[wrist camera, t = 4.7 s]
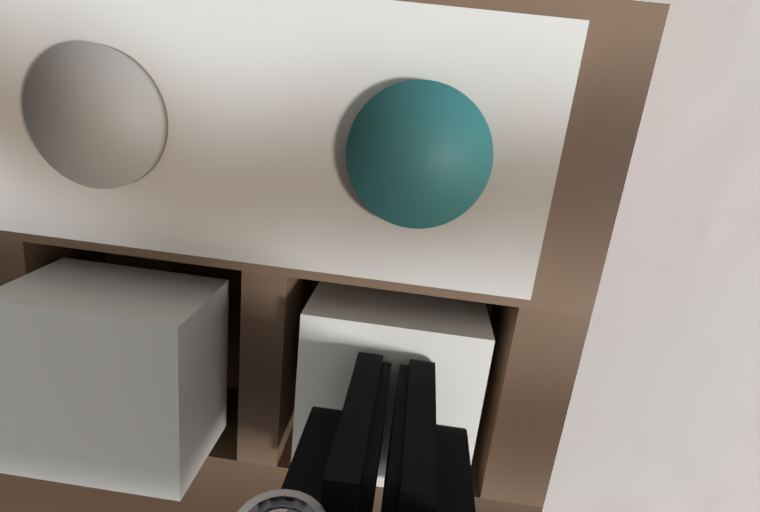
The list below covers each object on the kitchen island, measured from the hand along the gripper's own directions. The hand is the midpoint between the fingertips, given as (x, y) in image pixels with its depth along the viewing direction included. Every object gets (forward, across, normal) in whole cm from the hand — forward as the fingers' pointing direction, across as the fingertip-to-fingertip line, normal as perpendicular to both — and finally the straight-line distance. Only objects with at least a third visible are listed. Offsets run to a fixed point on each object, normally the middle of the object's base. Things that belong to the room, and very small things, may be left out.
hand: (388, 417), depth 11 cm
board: (+5, +6, -2) cm, 8 cm away
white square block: (+3, 0, 0) cm, 3 cm away
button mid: (+1, +6, 0) cm, 6 cm away
